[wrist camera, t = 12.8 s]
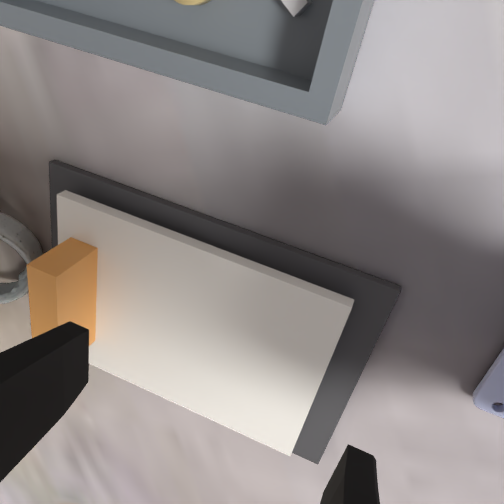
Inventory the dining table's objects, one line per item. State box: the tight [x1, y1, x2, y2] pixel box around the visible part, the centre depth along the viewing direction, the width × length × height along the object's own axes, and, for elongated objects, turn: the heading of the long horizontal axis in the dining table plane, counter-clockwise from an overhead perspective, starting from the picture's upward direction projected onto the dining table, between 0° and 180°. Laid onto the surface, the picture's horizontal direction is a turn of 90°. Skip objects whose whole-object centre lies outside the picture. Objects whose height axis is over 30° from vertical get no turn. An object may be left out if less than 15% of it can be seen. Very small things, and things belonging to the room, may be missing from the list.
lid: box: [27, 190, 354, 456], centre depth 21 cm, size 14×10×4 cm
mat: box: [49, 160, 401, 464], centre depth 23 cm, size 17×12×1 cm
